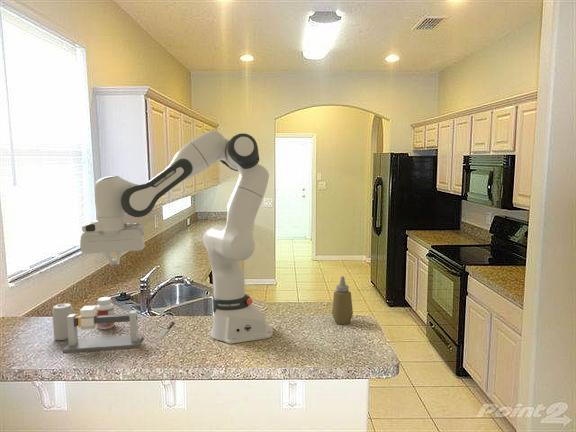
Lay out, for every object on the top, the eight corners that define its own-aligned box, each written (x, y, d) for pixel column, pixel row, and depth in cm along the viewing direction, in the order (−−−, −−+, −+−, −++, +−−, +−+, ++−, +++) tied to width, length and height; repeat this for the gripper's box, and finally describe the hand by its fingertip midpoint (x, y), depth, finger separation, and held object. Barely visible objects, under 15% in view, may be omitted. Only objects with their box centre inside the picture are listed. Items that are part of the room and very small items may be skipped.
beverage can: (69, 333, 161) (67, 301, 159) (77, 337, 157) (75, 304, 155) (51, 338, 156) (48, 305, 154) (59, 342, 152) (56, 309, 150)
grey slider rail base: (143, 337, 156) (141, 307, 155) (138, 347, 147) (136, 315, 146) (72, 341, 152) (69, 311, 151) (62, 352, 143) (60, 320, 142)
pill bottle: (93, 328, 165) (91, 300, 164) (105, 323, 171) (104, 295, 170) (106, 330, 163) (104, 301, 162) (118, 325, 168) (116, 297, 167)
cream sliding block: (97, 324, 151) (96, 305, 150) (93, 329, 146) (92, 309, 146) (85, 325, 150) (84, 306, 149) (81, 330, 146) (79, 310, 145)
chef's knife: (149, 344, 151) (157, 343, 151) (148, 341, 151) (157, 340, 151) (167, 324, 170) (174, 323, 170) (167, 321, 170) (174, 321, 170)
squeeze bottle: (329, 324, 166) (329, 278, 164) (335, 317, 173) (335, 273, 171) (349, 327, 163) (349, 280, 161) (355, 320, 170) (355, 275, 168)
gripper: (145, 221, 151) (147, 260, 153) (82, 224, 148) (86, 264, 150) (141, 224, 145) (144, 264, 147) (76, 227, 142) (80, 268, 144)
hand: (114, 264), depth 148 cm, fingers closed
